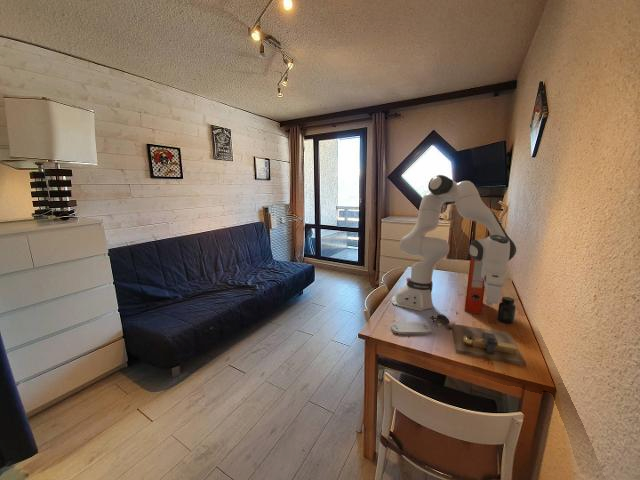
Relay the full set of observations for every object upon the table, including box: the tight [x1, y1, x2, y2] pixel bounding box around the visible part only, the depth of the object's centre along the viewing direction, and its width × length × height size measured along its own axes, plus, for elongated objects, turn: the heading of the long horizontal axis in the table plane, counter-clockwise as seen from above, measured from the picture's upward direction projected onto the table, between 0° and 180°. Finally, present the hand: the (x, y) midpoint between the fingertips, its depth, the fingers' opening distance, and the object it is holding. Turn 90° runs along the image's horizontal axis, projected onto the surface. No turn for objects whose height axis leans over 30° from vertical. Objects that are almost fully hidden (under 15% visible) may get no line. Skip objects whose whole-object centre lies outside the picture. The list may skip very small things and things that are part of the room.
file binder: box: [464, 256, 485, 315], centre depth 144 cm, size 8×17×32 cm, turn 149°
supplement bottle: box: [496, 296, 517, 325], centre depth 130 cm, size 7×7×12 cm
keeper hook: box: [482, 332, 498, 355], centre depth 106 cm, size 4×7×5 cm, turn 158°
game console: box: [390, 322, 432, 335], centre depth 124 cm, size 18×2×8 cm
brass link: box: [463, 331, 518, 355], centre depth 107 cm, size 18×4×5 cm, turn 67°
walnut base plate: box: [451, 323, 526, 367], centre depth 112 cm, size 23×22×2 cm
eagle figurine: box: [429, 312, 452, 330], centre depth 127 cm, size 8×7×9 cm
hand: (489, 303), depth 115 cm, fingers closed
